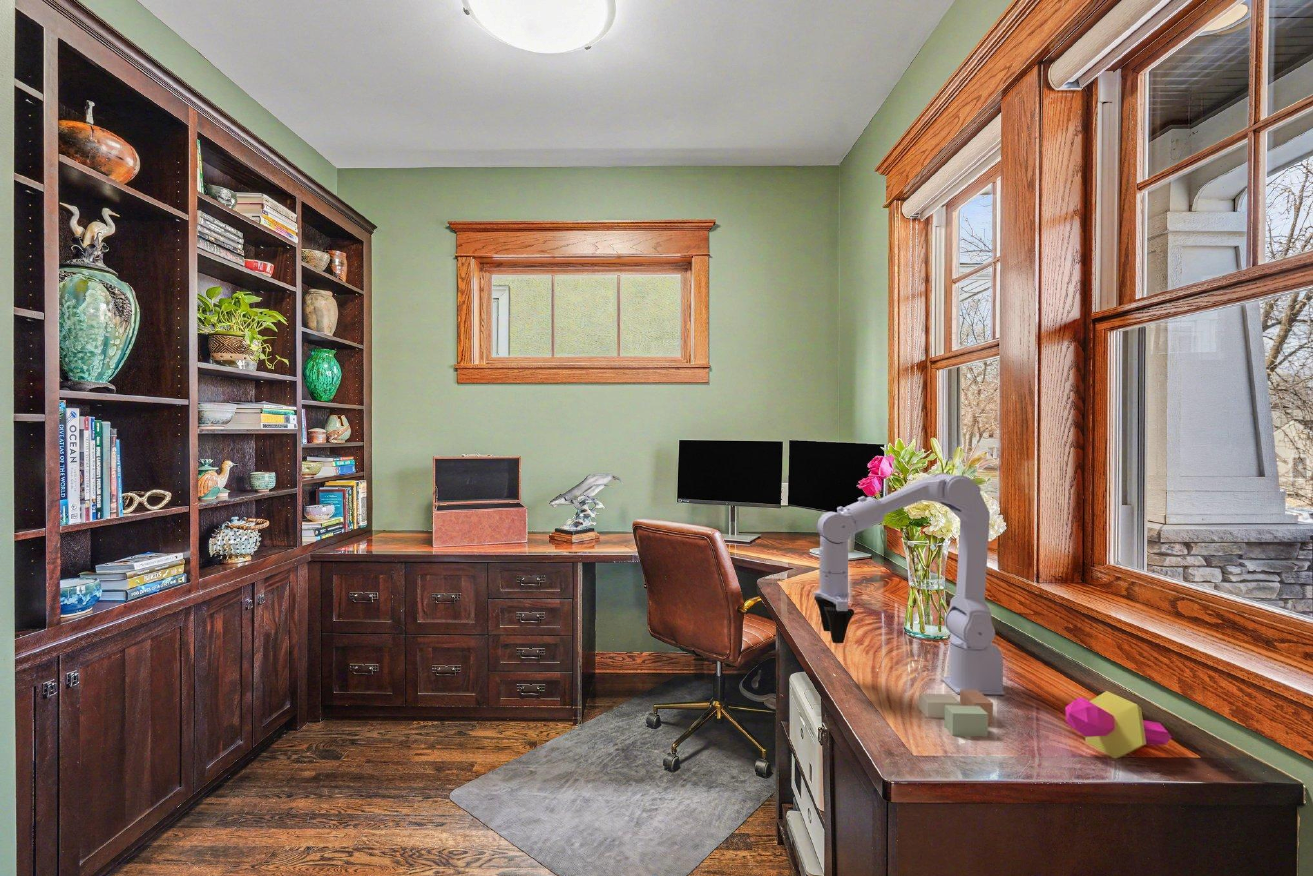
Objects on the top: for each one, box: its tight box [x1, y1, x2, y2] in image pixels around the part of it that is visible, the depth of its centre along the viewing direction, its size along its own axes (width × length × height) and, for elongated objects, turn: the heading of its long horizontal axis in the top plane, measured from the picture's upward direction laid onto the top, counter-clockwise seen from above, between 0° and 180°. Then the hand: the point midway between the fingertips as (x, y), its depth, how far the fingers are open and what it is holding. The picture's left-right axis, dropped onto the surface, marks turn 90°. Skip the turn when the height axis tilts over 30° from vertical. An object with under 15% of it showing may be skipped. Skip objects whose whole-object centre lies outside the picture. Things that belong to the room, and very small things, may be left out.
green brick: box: [944, 705, 989, 737], centre depth 112 cm, size 6×3×4 cm, turn 88°
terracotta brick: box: [959, 689, 994, 726], centre depth 118 cm, size 6×3×4 cm, turn 178°
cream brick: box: [918, 693, 961, 719], centre depth 120 cm, size 6×4×3 cm, turn 89°
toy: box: [1064, 690, 1172, 759], centre depth 105 cm, size 10×18×10 cm, turn 101°
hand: (833, 636), depth 132 cm, fingers open, 7 cm apart
